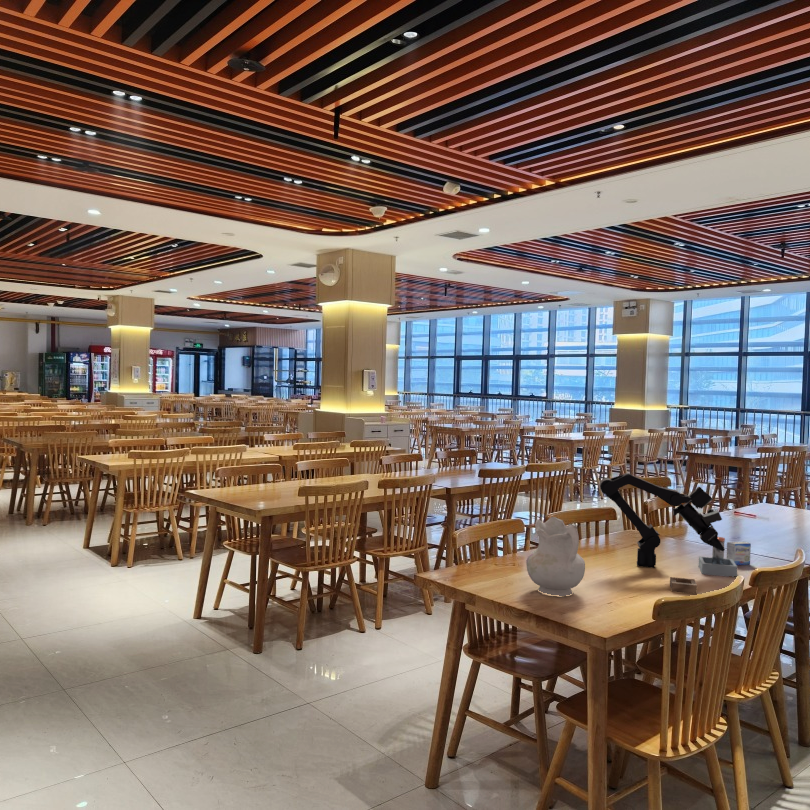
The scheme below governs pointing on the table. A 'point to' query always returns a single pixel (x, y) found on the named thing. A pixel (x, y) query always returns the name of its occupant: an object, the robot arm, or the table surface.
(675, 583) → the socket block
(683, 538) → the table surface
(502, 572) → the table surface
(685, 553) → the table surface
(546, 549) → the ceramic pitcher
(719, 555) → the pin
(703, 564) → the tray
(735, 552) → the medicine box
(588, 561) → the table surface
